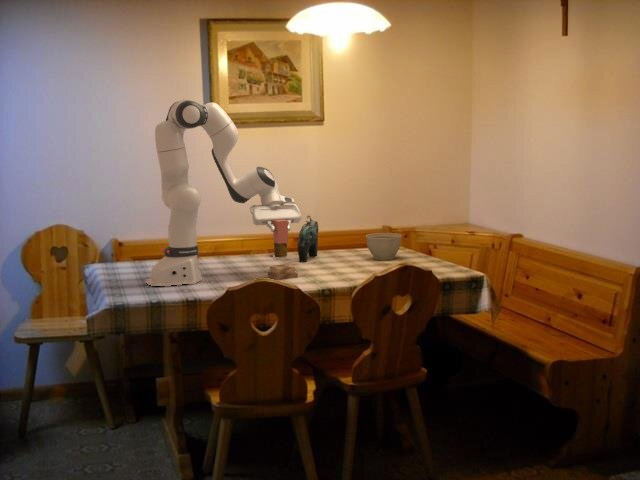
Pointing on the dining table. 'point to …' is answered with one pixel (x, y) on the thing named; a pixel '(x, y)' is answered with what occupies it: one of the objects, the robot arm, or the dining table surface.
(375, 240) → the planter bowl
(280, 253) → the condiment
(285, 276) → the walnut base slab
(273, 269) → the oak top slab
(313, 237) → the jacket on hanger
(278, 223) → the brick-red pillar
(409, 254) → the dining table surface
